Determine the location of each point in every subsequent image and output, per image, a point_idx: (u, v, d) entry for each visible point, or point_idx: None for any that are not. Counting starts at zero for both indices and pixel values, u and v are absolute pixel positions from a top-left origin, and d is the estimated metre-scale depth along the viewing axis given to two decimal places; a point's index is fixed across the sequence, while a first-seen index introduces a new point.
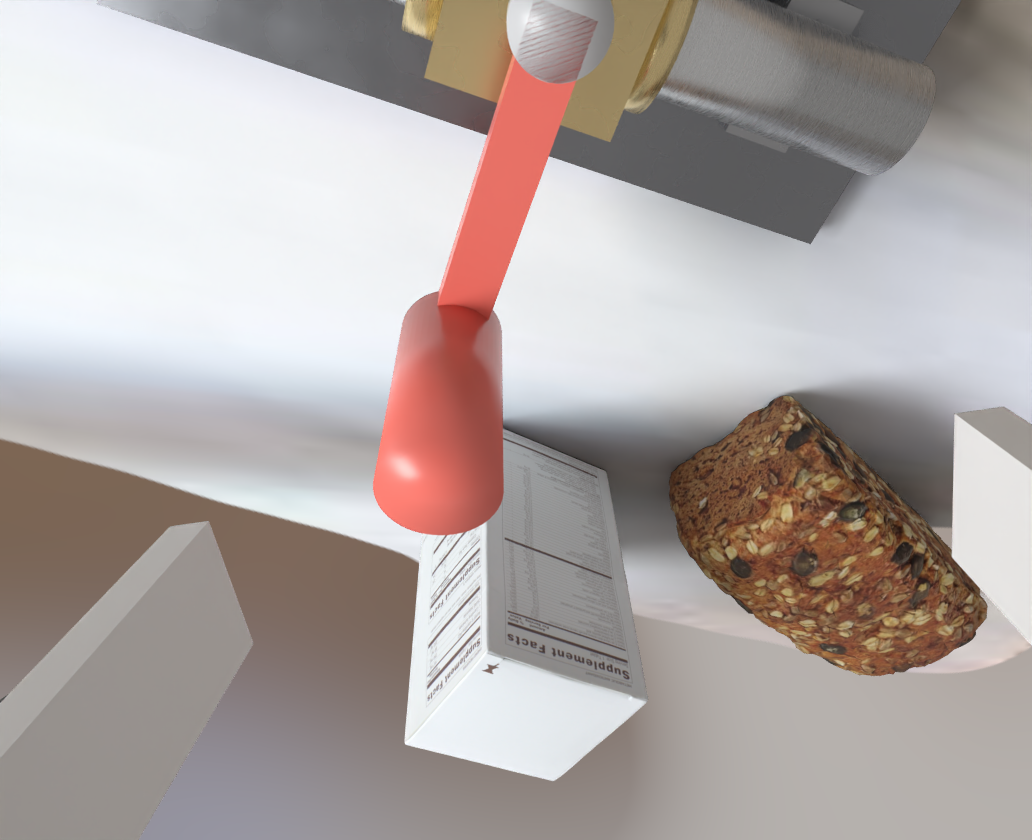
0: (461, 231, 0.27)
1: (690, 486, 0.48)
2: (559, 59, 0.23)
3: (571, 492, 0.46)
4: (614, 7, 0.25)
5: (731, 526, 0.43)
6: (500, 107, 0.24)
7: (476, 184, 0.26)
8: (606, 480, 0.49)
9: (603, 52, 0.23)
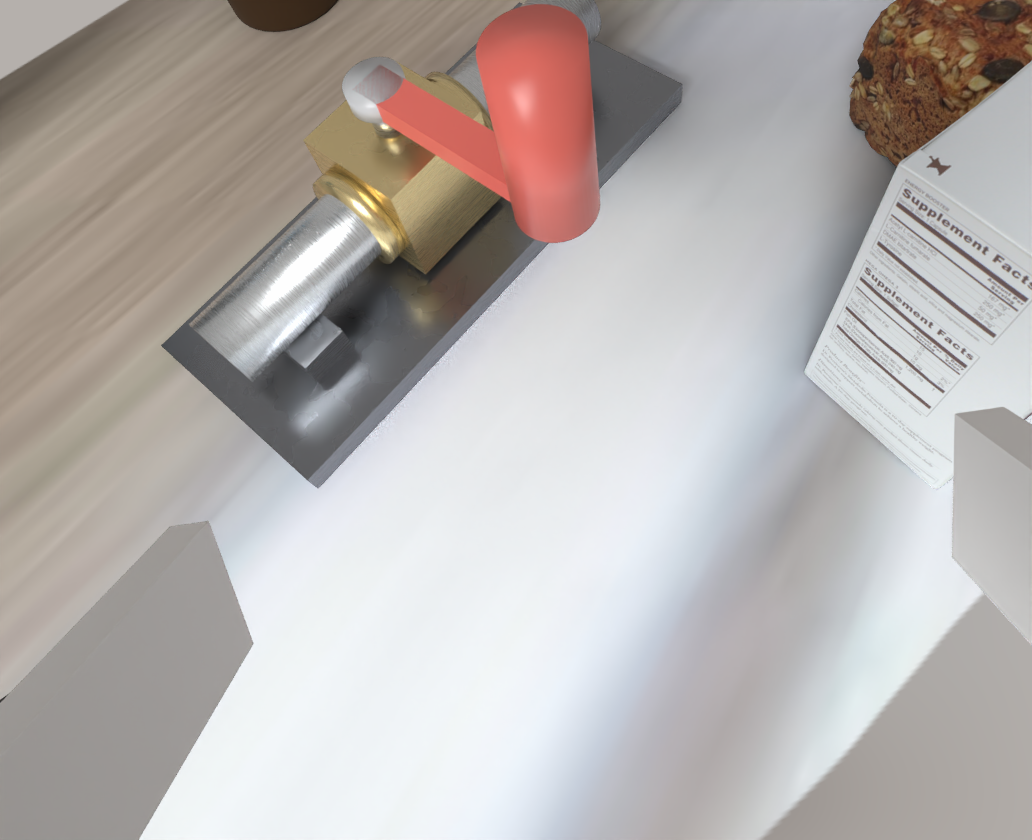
0: (462, 157, 0.36)
1: None
2: (388, 84, 0.38)
3: None
4: None
5: (945, 90, 0.39)
6: (397, 117, 0.37)
7: (435, 140, 0.36)
8: None
9: (396, 63, 0.39)
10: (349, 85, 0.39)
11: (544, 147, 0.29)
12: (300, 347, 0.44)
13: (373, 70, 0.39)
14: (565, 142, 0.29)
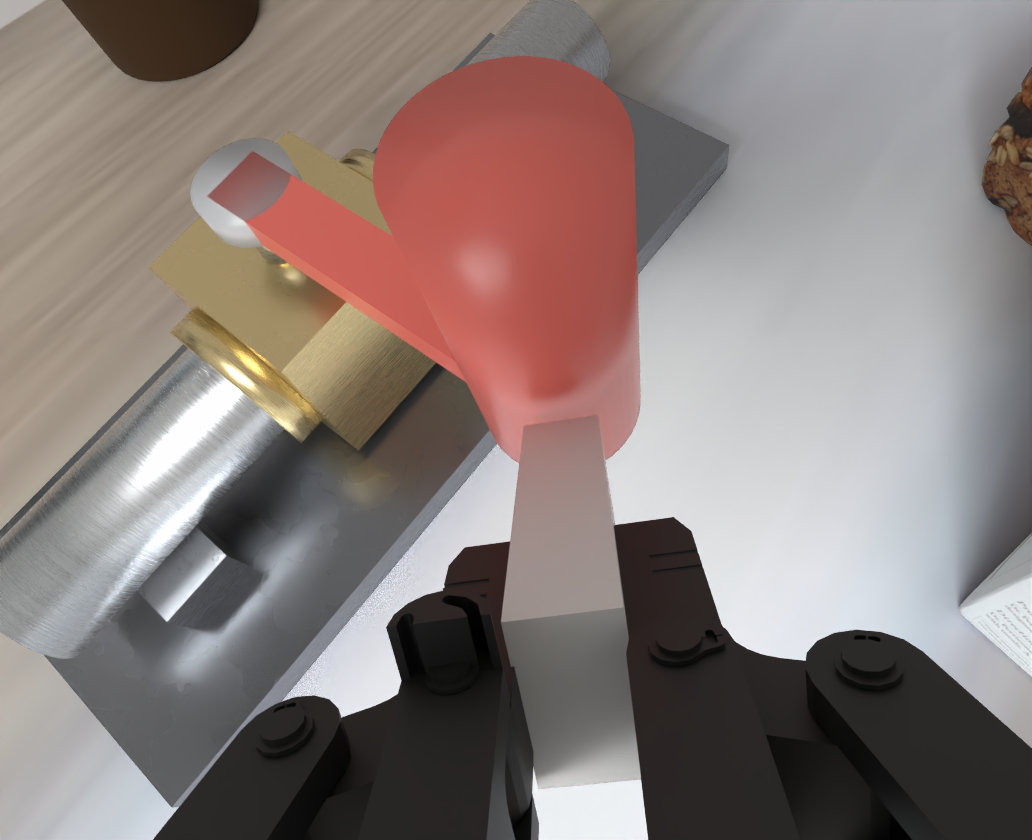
0: (390, 317, 0.20)
1: None
2: (266, 185, 0.23)
3: None
4: None
5: None
6: (280, 244, 0.22)
7: (343, 286, 0.21)
8: None
9: (279, 149, 0.23)
10: (202, 189, 0.23)
11: (540, 359, 0.13)
12: (161, 584, 0.28)
13: (242, 162, 0.23)
14: (584, 345, 0.13)
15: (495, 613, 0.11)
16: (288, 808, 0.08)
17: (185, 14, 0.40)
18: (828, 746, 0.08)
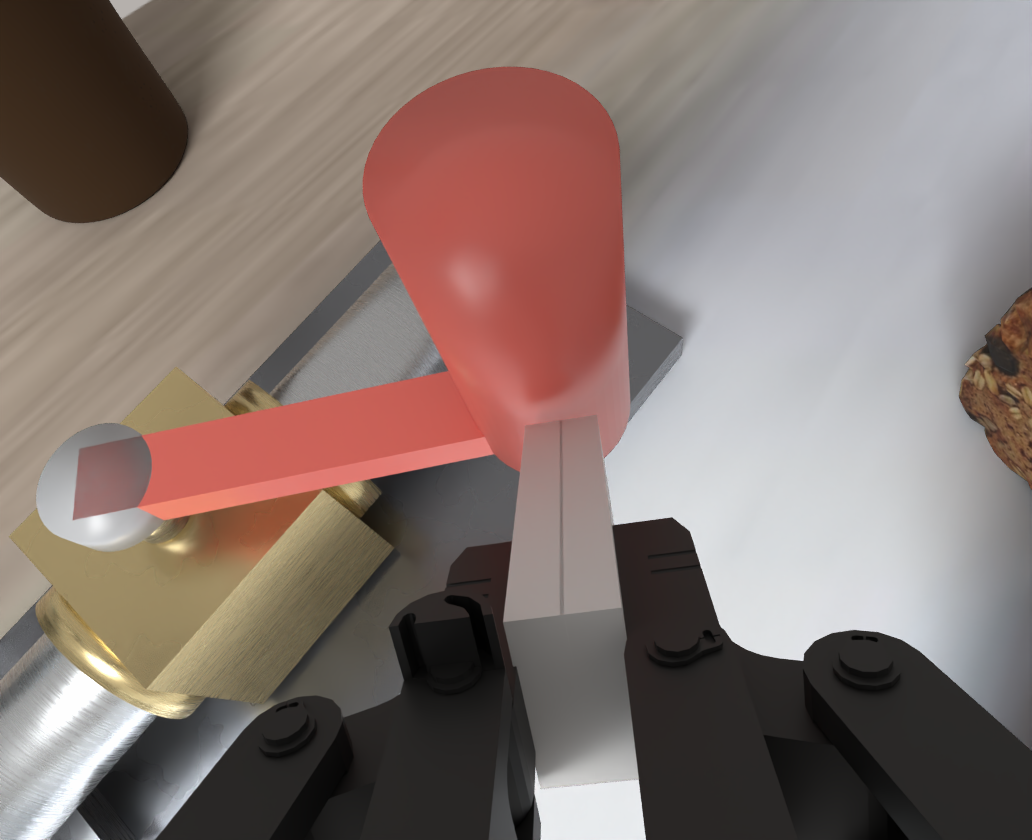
0: (362, 461, 0.19)
1: None
2: (125, 463, 0.20)
3: None
4: None
5: None
6: (194, 495, 0.19)
7: (293, 474, 0.19)
8: None
9: (106, 426, 0.20)
10: (60, 518, 0.20)
11: (605, 320, 0.14)
12: None
13: (78, 465, 0.20)
14: (622, 286, 0.14)
15: (498, 612, 0.11)
16: (290, 808, 0.08)
17: (100, 162, 0.37)
18: (826, 746, 0.08)
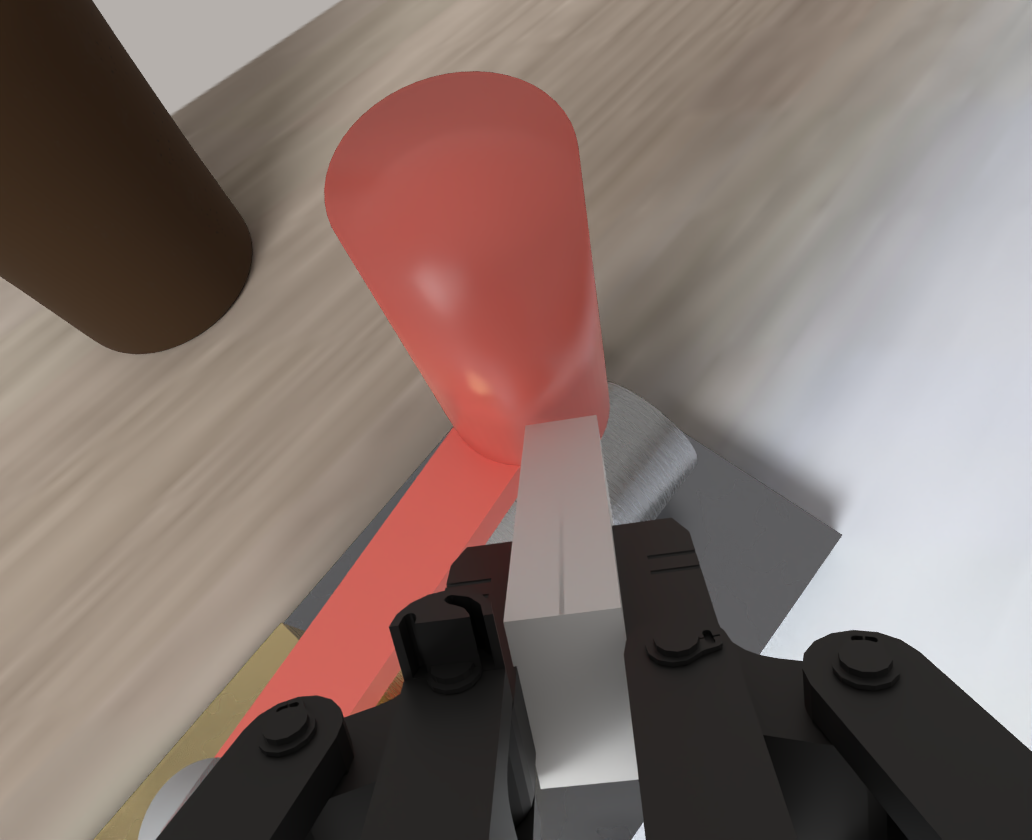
0: (443, 575, 0.17)
1: None
2: None
3: None
4: None
5: None
6: None
7: None
8: None
9: (168, 786, 0.17)
10: None
11: None
12: None
13: None
14: None
15: (498, 612, 0.11)
16: (291, 808, 0.08)
17: (162, 299, 0.33)
18: (825, 747, 0.08)
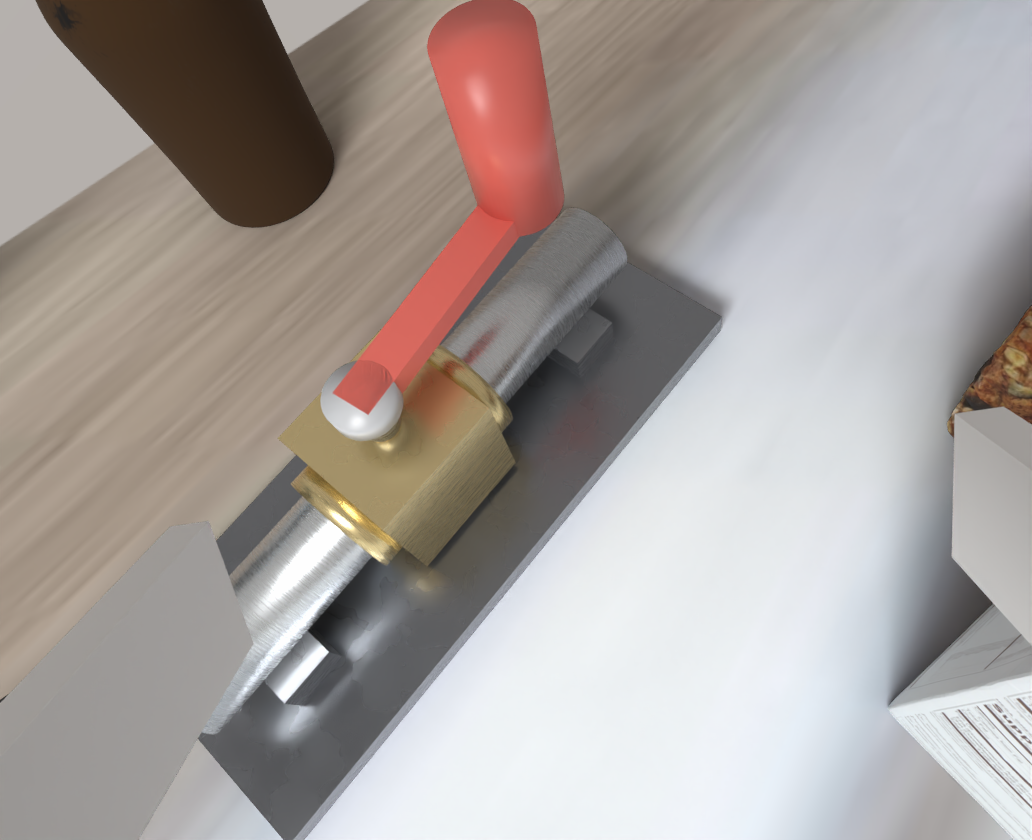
0: (474, 273, 0.33)
1: None
2: (364, 375, 0.32)
3: None
4: None
5: None
6: (414, 352, 0.32)
7: (450, 304, 0.33)
8: None
9: (334, 374, 0.32)
10: (361, 420, 0.31)
11: None
12: (278, 673, 0.37)
13: (341, 397, 0.32)
14: None
15: None
16: None
17: (278, 182, 0.49)
18: None
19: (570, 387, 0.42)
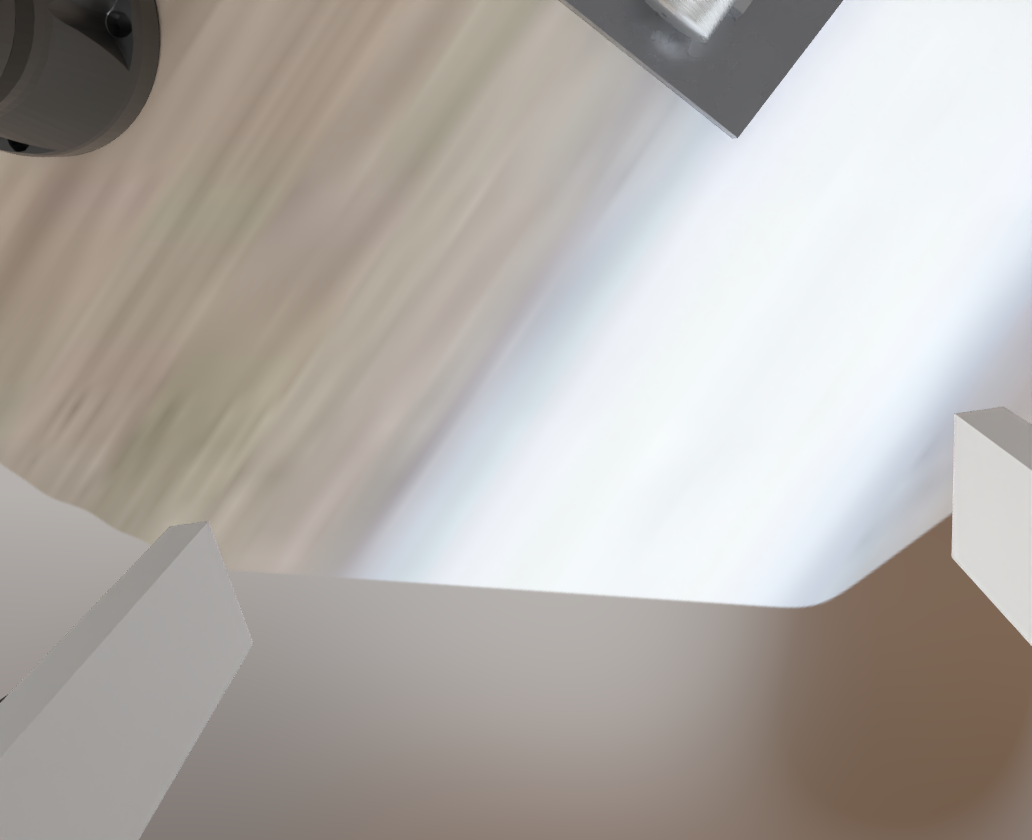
0: None
1: None
2: None
3: None
4: None
5: None
6: None
7: None
8: None
9: None
10: None
11: None
12: None
13: None
14: None
15: None
16: None
17: None
18: None
19: None
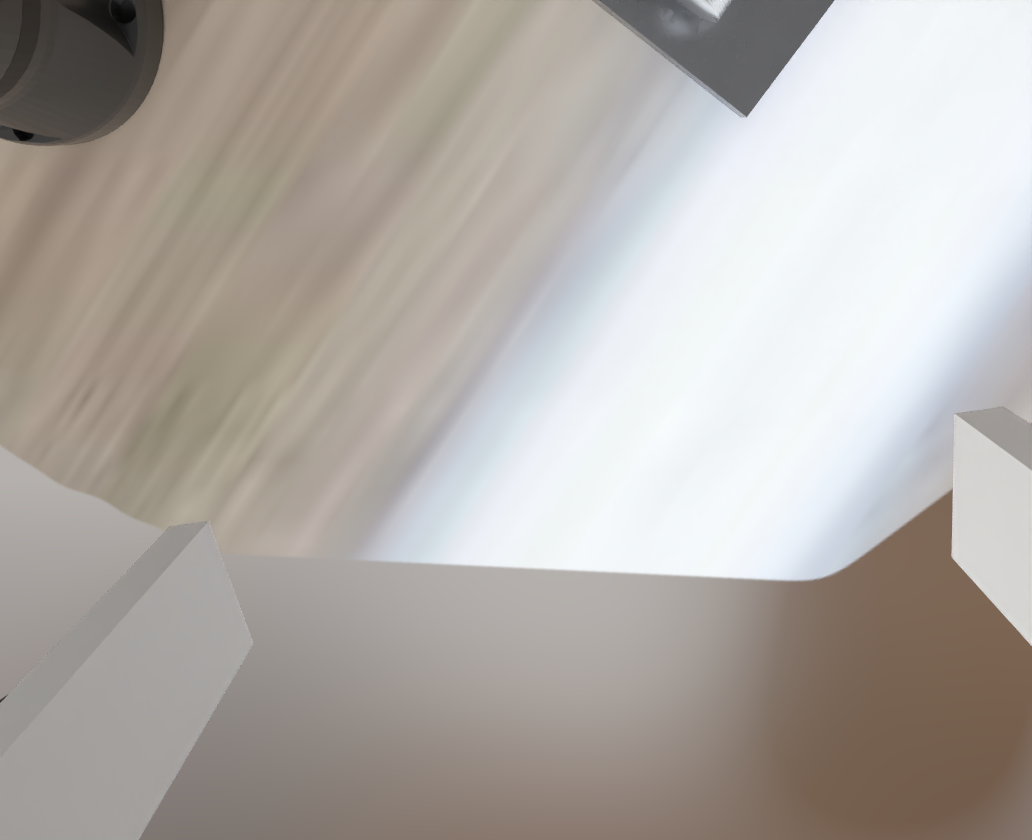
0: None
1: None
2: None
3: None
4: None
5: None
6: None
7: None
8: None
9: None
10: None
11: None
12: None
13: None
14: None
15: None
16: None
17: None
18: None
19: None
